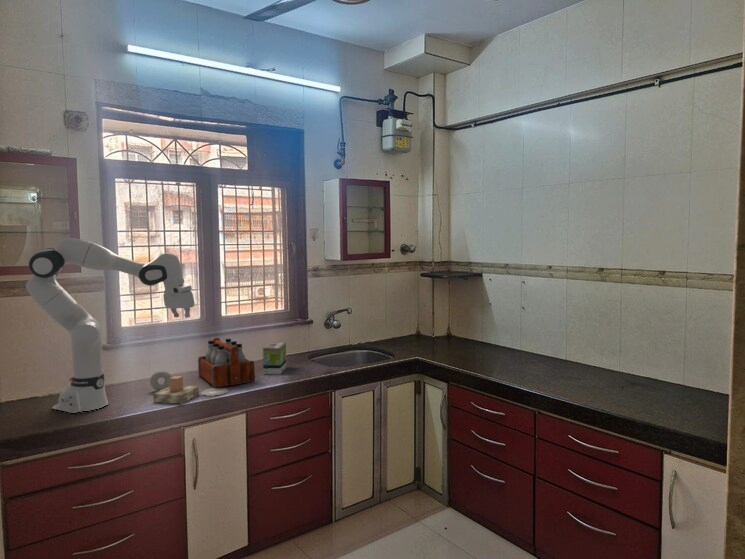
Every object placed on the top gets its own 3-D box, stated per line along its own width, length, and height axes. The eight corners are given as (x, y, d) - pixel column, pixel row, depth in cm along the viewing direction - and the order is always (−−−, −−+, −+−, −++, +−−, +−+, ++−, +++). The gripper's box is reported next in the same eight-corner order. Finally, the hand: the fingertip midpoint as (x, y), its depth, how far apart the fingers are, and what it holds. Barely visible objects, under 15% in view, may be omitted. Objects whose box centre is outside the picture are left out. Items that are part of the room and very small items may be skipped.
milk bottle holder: (215, 389, 242) (214, 349, 241) (196, 374, 271) (195, 339, 270) (257, 382, 254) (256, 344, 253) (235, 369, 283) (234, 335, 282)
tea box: (281, 374, 271) (280, 347, 270) (262, 374, 271) (262, 347, 270) (286, 367, 286) (286, 342, 285) (269, 367, 286) (268, 342, 285)
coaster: (196, 395, 235) (196, 394, 235) (210, 388, 247) (210, 386, 247) (219, 397, 232) (218, 396, 232) (232, 389, 244) (232, 388, 244)
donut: (172, 388, 247) (172, 368, 246) (172, 390, 243) (171, 370, 242) (150, 390, 243) (149, 370, 243) (150, 392, 240) (149, 372, 239)
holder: (153, 402, 226) (153, 393, 226) (173, 393, 239) (173, 384, 239) (180, 404, 222) (180, 395, 222) (199, 395, 236) (198, 386, 236)
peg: (170, 399, 229) (169, 378, 229) (175, 397, 233) (175, 375, 233) (178, 400, 228) (177, 378, 228) (183, 397, 232) (182, 376, 232)
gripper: (157, 290, 233) (164, 318, 235) (180, 289, 220) (187, 319, 222) (170, 286, 238) (176, 315, 240) (193, 285, 224) (200, 315, 227)
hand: (182, 317), depth 231 cm, fingers open, 8 cm apart
